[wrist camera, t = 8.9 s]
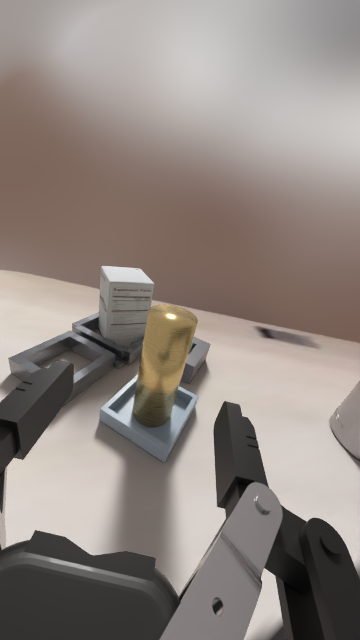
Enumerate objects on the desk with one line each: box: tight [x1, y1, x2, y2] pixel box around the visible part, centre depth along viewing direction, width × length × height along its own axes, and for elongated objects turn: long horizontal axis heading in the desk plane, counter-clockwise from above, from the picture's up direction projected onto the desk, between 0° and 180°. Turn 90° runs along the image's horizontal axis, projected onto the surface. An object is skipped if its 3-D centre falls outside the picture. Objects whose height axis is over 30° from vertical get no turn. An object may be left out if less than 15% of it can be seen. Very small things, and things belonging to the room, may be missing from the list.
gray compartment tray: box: [8, 313, 144, 407], centre depth 37 cm, size 12×23×2 cm, turn 155°
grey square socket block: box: [181, 337, 210, 384], centre depth 38 cm, size 8×8×4 cm
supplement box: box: [98, 266, 154, 347], centre depth 39 cm, size 7×7×13 cm
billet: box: [132, 304, 198, 428], centre depth 25 cm, size 5×5×14 cm
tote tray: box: [100, 374, 199, 462], centre depth 28 cm, size 9×9×2 cm
